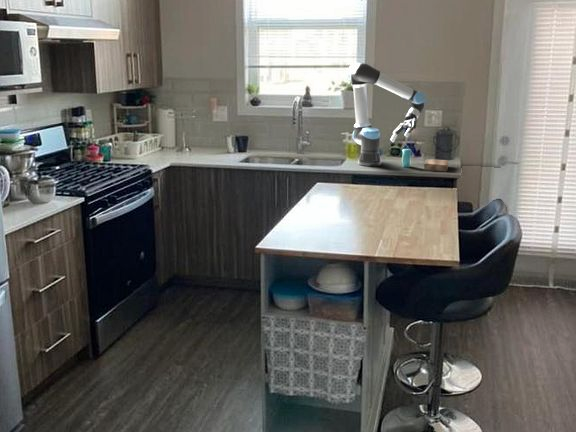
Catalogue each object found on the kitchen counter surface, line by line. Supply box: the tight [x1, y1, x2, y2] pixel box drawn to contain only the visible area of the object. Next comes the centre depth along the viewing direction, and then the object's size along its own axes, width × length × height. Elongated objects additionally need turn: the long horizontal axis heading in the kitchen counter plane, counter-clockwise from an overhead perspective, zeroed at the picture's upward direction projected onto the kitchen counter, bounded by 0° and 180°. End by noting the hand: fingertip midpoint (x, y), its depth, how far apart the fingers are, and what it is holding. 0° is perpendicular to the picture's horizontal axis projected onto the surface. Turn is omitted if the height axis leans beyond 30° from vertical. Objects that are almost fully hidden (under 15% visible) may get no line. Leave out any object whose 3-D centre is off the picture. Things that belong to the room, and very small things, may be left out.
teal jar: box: [401, 148, 412, 168], centre depth 409 cm, size 6×6×11 cm
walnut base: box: [423, 158, 449, 172], centre depth 405 cm, size 14×18×4 cm
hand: (398, 138), depth 417 cm, fingers open, 13 cm apart
